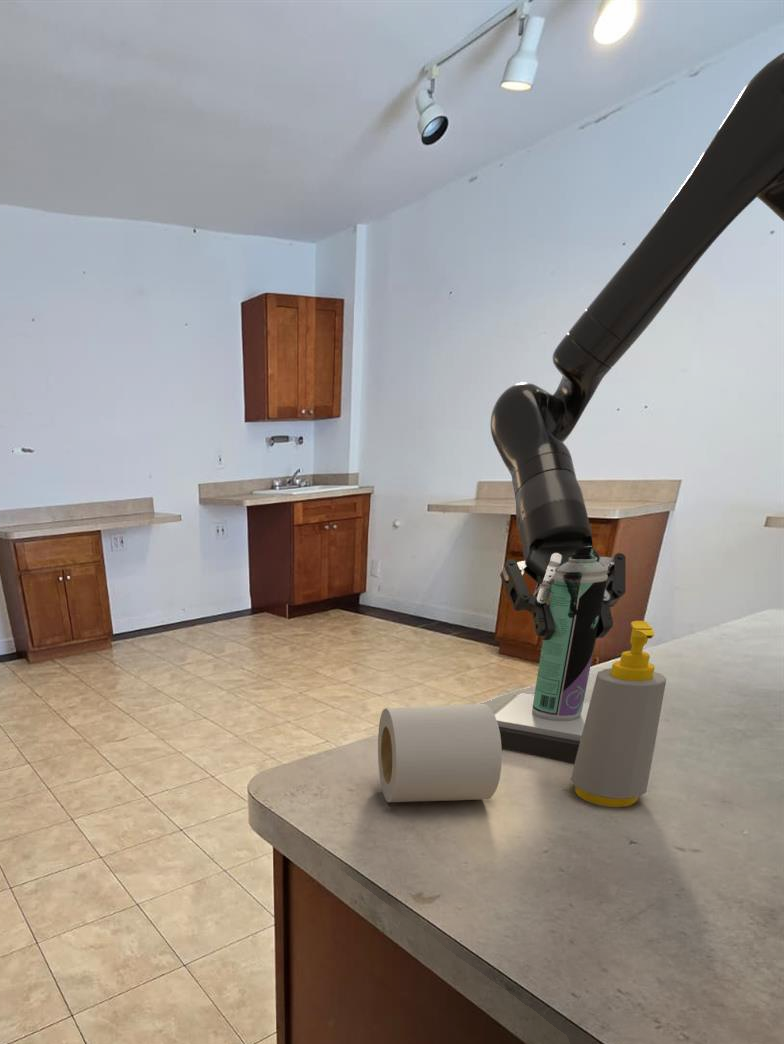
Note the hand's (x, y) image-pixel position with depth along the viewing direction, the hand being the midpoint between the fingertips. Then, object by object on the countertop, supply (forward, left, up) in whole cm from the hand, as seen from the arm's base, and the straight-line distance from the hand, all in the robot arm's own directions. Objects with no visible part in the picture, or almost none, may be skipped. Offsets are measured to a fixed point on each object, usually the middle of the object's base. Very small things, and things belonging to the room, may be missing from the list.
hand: (575, 635), depth 74 cm
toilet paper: (+7, +22, -14) cm, 27 cm away
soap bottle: (-8, +12, -14) cm, 20 cm away
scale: (0, -1, -13) cm, 14 cm away
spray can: (+1, -1, -10) cm, 11 cm away
